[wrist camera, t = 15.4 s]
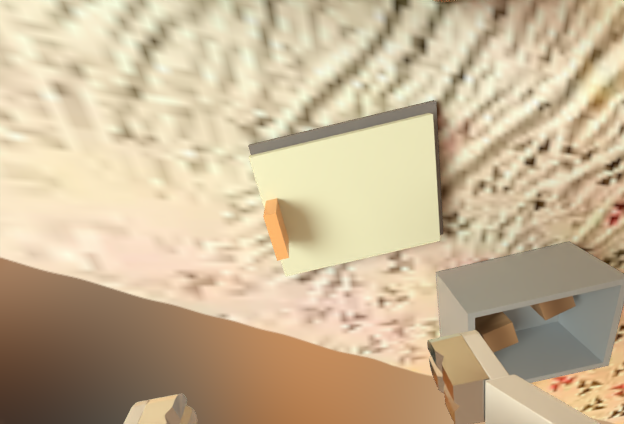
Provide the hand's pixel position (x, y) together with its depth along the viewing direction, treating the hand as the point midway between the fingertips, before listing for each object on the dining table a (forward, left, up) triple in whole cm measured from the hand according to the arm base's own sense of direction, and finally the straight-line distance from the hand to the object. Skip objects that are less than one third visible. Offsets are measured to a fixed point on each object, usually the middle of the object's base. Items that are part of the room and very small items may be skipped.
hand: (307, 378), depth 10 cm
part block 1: (-21, +28, -26) cm, 43 cm away
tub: (-24, +26, -26) cm, 44 cm away
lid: (-5, +5, -26) cm, 27 cm away
